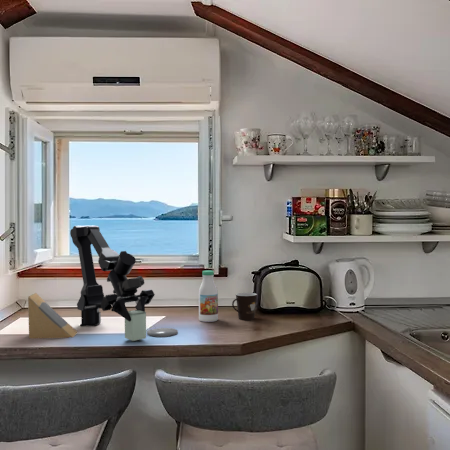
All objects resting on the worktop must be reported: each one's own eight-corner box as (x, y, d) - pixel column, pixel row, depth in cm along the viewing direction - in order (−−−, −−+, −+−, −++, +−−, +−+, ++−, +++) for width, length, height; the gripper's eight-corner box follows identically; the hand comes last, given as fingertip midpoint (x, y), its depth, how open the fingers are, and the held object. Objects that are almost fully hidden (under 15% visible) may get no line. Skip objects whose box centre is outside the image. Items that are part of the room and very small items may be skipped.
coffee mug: (252, 315, 212) (252, 292, 212) (260, 320, 204) (260, 295, 204) (226, 317, 208) (225, 293, 208) (233, 322, 200) (232, 297, 200)
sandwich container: (73, 338, 178) (72, 295, 177) (28, 339, 177) (27, 296, 176) (78, 332, 186) (78, 291, 186) (36, 333, 185) (35, 292, 185)
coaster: (144, 337, 178) (144, 335, 178) (149, 329, 189) (149, 328, 189) (176, 336, 178) (176, 335, 178) (179, 329, 189) (179, 327, 189)
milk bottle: (194, 320, 204) (194, 270, 203) (208, 317, 210) (208, 269, 209) (208, 323, 199) (208, 272, 198) (222, 320, 204) (221, 270, 204)
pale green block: (124, 337, 173) (124, 311, 173) (138, 335, 177) (137, 309, 176) (132, 340, 169) (132, 314, 169) (146, 338, 173) (145, 311, 173)
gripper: (104, 271, 169) (121, 309, 161) (151, 266, 181) (169, 301, 174) (93, 291, 175) (109, 329, 167) (140, 286, 188) (156, 320, 180)
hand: (137, 319), depth 172 cm, fingers closed on pale green block, 5 cm apart
